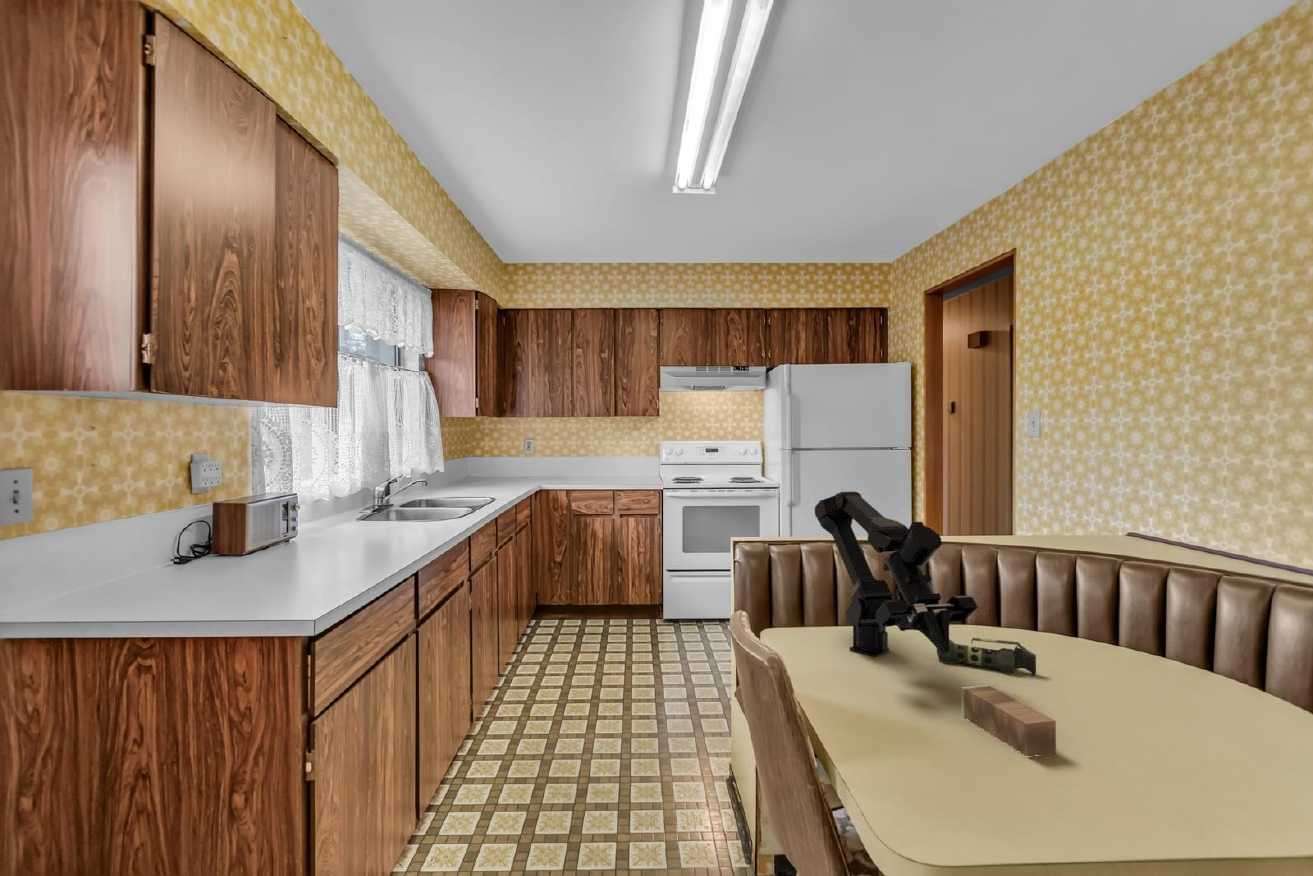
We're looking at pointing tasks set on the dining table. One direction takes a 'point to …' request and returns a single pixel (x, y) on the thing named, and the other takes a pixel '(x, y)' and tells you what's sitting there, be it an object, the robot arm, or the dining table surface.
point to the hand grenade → (991, 656)
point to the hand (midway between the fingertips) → (946, 653)
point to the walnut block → (1009, 720)
